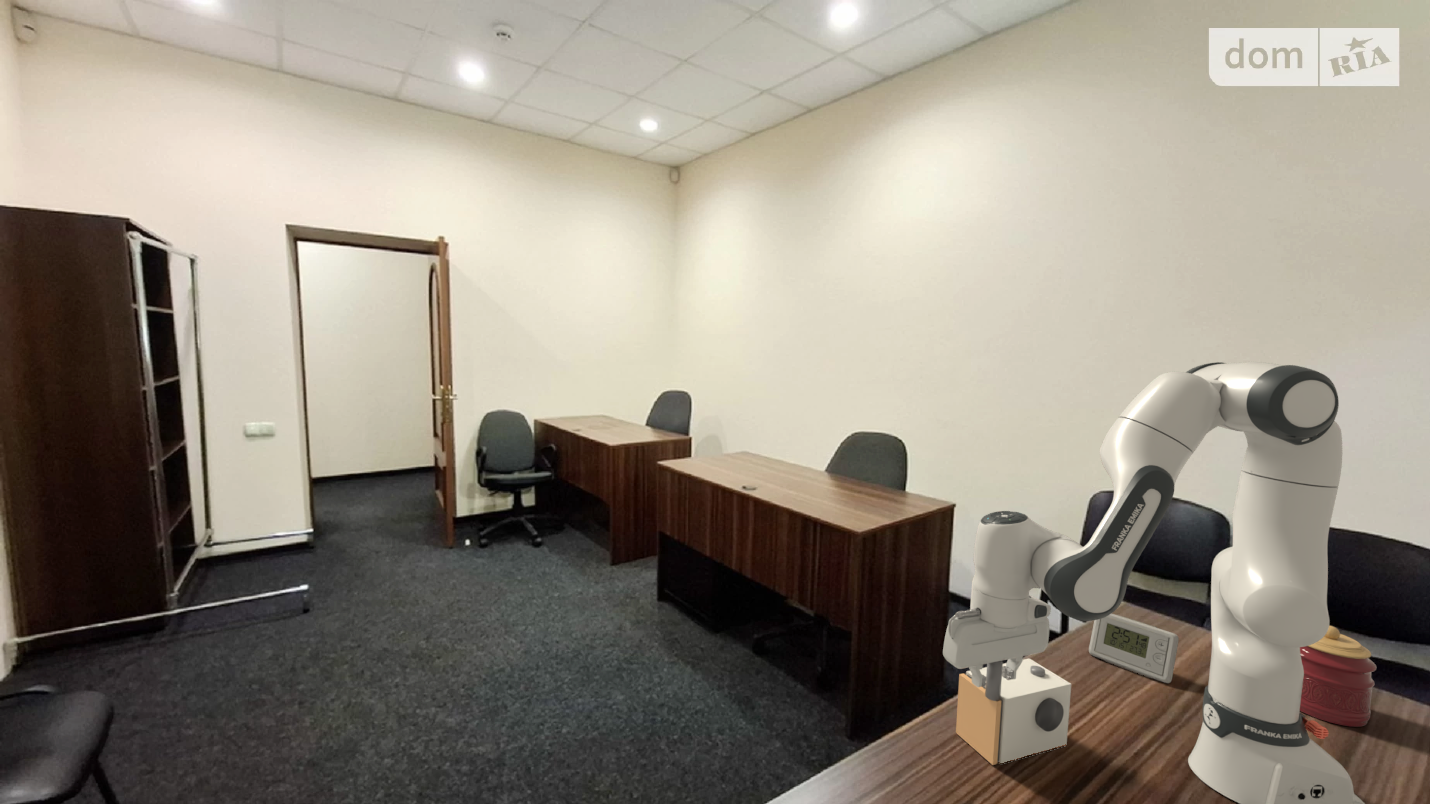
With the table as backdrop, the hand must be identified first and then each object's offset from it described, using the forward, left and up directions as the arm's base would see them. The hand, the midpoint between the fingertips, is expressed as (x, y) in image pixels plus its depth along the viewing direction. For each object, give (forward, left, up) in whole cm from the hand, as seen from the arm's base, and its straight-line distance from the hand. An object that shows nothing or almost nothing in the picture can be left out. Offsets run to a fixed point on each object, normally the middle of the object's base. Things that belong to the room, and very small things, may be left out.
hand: (993, 681), depth 98 cm
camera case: (-6, -7, -15) cm, 17 cm away
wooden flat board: (+1, -3, -14) cm, 15 cm away
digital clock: (-44, -38, -15) cm, 60 cm away
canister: (-74, -28, -15) cm, 81 cm away
